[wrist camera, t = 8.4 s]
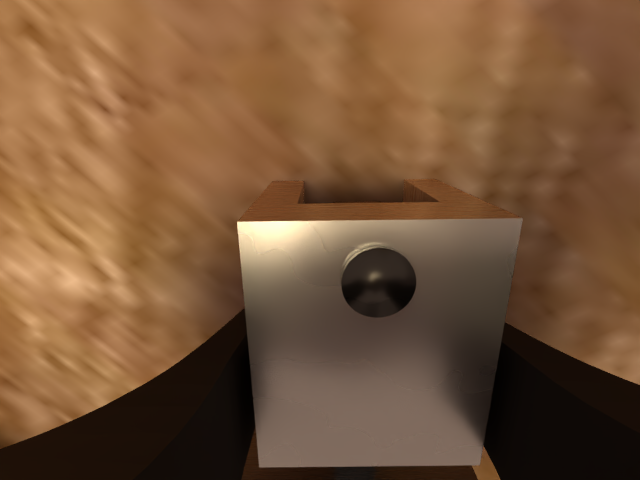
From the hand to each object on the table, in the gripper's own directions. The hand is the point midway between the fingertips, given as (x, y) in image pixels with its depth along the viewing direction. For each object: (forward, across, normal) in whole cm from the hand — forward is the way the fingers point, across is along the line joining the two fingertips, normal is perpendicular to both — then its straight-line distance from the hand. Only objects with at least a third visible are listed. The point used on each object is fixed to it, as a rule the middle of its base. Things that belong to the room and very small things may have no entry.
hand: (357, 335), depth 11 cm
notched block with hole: (+2, 0, -2) cm, 2 cm away
